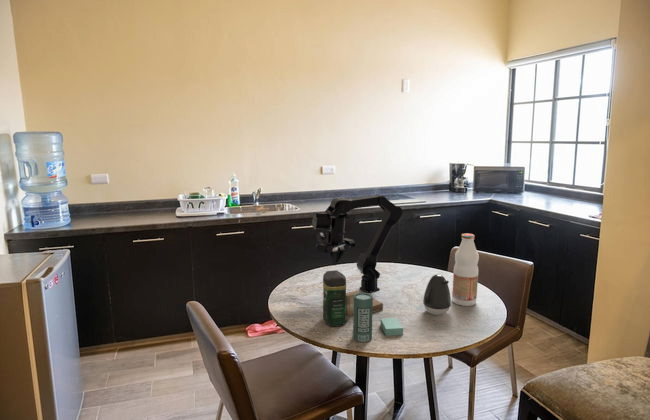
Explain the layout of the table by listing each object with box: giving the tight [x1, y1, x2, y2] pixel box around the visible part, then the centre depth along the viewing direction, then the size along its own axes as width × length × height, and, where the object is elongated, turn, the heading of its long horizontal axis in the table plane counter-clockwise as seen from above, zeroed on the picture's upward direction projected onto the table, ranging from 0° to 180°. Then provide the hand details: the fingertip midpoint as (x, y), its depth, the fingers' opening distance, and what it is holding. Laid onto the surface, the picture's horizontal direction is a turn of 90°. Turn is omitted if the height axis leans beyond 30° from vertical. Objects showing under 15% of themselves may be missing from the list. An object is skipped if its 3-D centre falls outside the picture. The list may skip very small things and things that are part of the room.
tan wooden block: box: [346, 290, 361, 317], centre depth 169 cm, size 3×6×8 cm, turn 124°
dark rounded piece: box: [422, 274, 452, 316], centre depth 169 cm, size 10×10×15 cm
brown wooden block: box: [372, 298, 384, 313], centre depth 175 cm, size 3×6×8 cm
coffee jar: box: [322, 270, 347, 327], centre depth 161 cm, size 10×8×19 cm
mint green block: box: [380, 317, 404, 336], centre depth 156 cm, size 3×6×8 cm
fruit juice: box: [451, 232, 480, 307], centre depth 177 cm, size 9×9×28 cm
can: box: [352, 292, 374, 343], centre depth 149 cm, size 6×6×15 cm
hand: (334, 265), depth 186 cm, fingers closed
